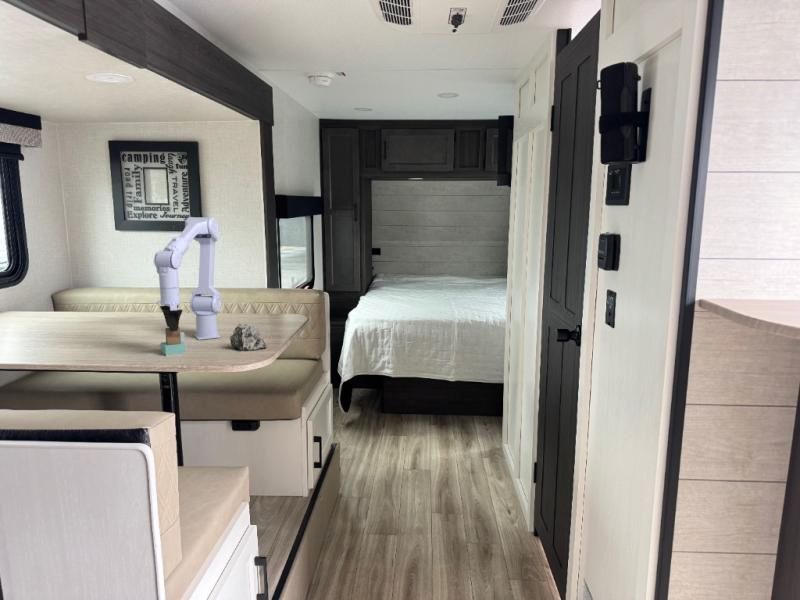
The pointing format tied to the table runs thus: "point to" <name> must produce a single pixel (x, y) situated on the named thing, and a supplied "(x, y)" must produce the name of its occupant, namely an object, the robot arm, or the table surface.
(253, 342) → the rock
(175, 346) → the teal slab
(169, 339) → the walnut block
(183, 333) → the bluegrey block
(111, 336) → the table surface
